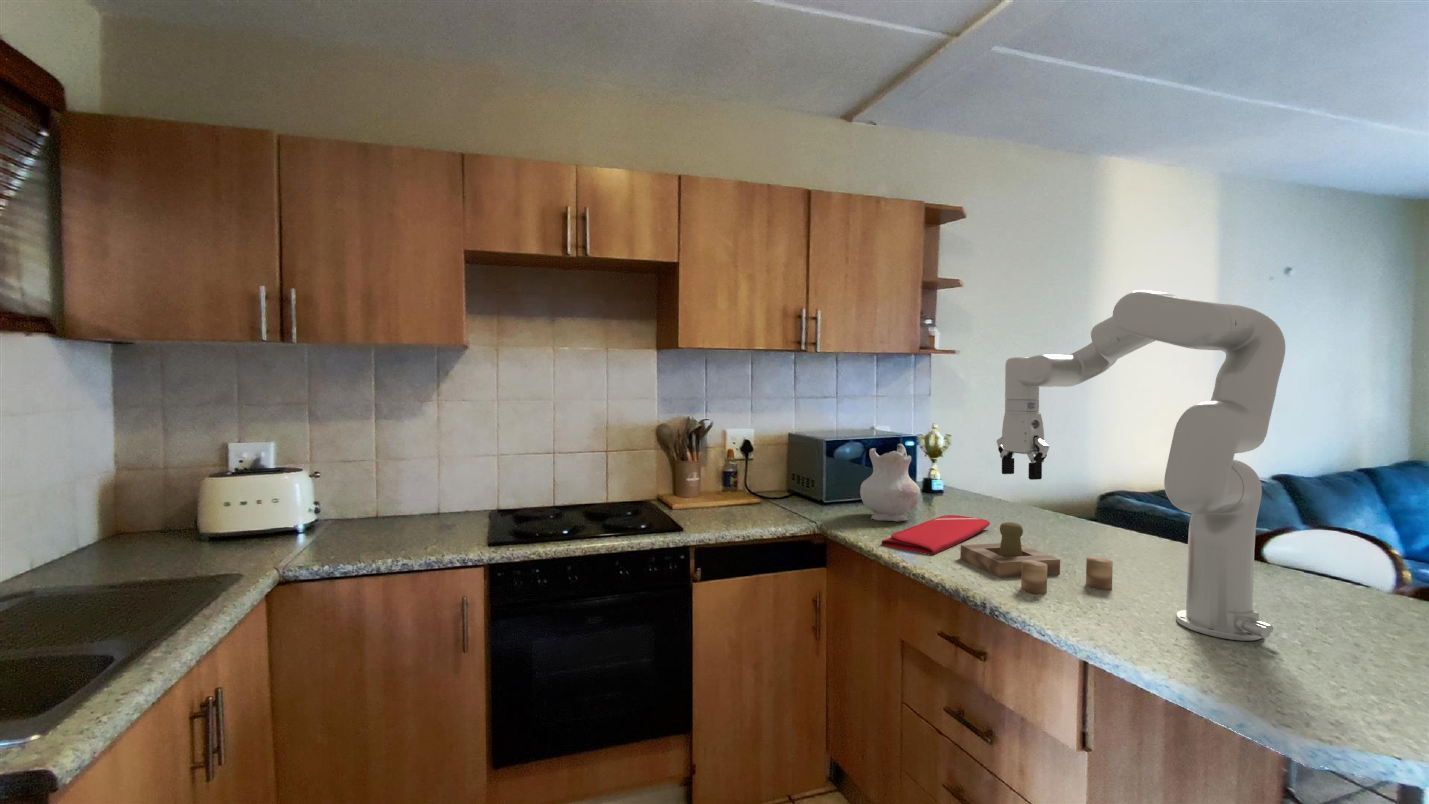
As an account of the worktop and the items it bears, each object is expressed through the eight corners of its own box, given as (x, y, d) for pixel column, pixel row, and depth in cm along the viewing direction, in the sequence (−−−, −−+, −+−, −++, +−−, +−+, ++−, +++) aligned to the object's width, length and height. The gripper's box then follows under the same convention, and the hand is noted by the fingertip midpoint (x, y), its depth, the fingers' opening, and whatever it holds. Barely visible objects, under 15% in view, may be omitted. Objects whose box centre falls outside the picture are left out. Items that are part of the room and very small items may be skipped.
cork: (1027, 571, 149) (1027, 526, 149) (1000, 569, 150) (1000, 524, 150) (1020, 564, 155) (1021, 521, 155) (994, 562, 156) (995, 519, 156)
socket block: (1059, 573, 147) (1060, 559, 147) (999, 577, 144) (1000, 562, 144) (1015, 555, 163) (1015, 542, 163) (960, 558, 160) (960, 545, 160)
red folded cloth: (879, 546, 173) (880, 533, 173) (942, 523, 203) (942, 512, 203) (934, 557, 162) (934, 543, 162) (991, 531, 192) (991, 519, 192)
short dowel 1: (1052, 593, 133) (1052, 566, 133) (1031, 595, 132) (1032, 567, 132) (1035, 586, 138) (1036, 559, 138) (1016, 587, 137) (1016, 560, 137)
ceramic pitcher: (870, 512, 223) (865, 443, 223) (926, 513, 214) (921, 441, 214) (856, 524, 203) (851, 449, 203) (917, 526, 195) (912, 447, 195)
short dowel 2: (1117, 589, 136) (1118, 562, 136) (1098, 590, 135) (1098, 563, 135) (1099, 582, 141) (1100, 556, 141) (1080, 583, 140) (1081, 557, 140)
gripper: (1061, 408, 144) (1060, 481, 144) (1011, 406, 161) (1010, 471, 161) (1033, 408, 142) (1032, 482, 143) (986, 406, 159) (985, 472, 160)
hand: (1021, 476), depth 152 cm, fingers open, 9 cm apart
